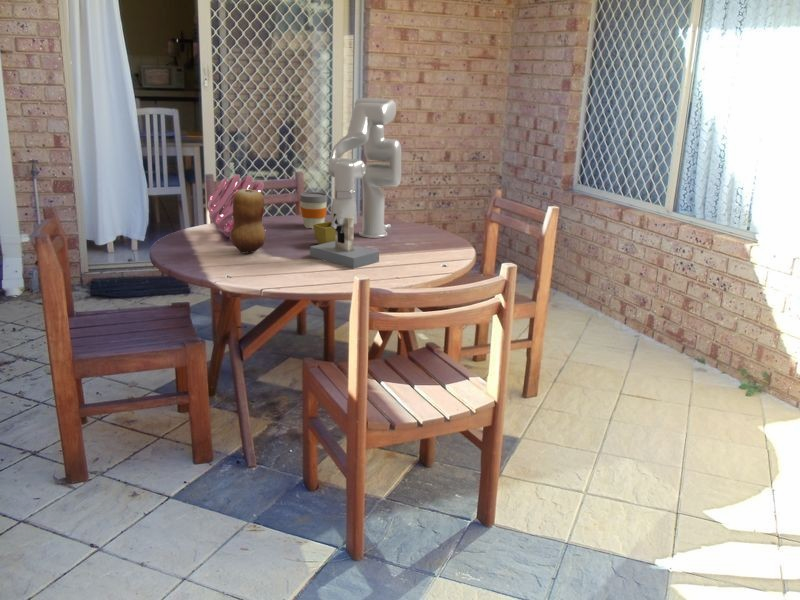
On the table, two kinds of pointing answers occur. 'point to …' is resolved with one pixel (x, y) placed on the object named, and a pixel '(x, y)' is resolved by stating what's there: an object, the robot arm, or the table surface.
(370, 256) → the grey slotted tile
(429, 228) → the table surface
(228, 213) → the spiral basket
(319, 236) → the flower pot
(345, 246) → the pine slat
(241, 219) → the butternut squash
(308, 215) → the reusable coffee cup
